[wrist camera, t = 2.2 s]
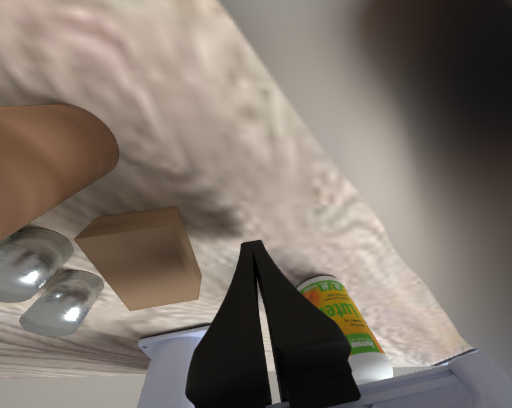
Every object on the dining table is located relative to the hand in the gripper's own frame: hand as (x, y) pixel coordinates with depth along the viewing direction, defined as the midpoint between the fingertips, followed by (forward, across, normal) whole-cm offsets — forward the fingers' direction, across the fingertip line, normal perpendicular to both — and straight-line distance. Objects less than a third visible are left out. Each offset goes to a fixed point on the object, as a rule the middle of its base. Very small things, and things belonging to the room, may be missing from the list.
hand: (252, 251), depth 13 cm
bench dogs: (+2, +14, 0) cm, 14 cm away
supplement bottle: (+2, -6, +9) cm, 11 cm away
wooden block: (+2, +7, 0) cm, 7 cm away
